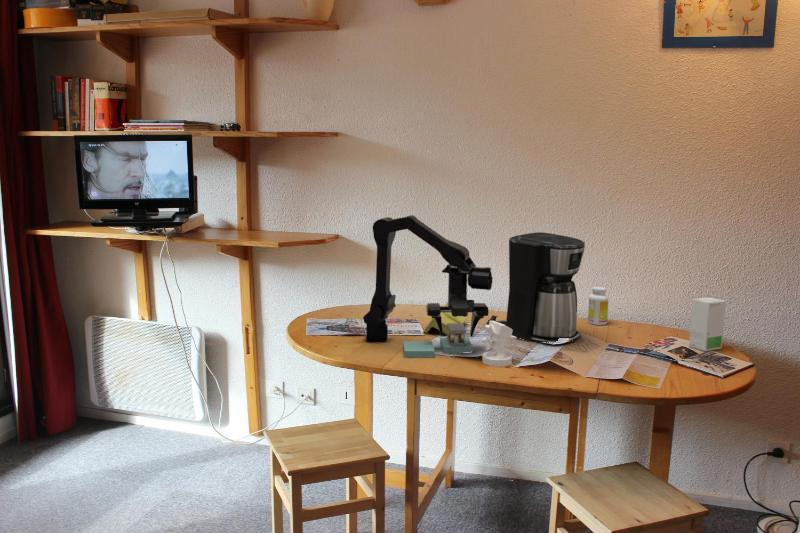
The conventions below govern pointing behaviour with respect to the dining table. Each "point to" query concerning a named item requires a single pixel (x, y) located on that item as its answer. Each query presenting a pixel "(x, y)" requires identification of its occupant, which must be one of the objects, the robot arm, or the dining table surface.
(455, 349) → the stand right
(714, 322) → the skincare box
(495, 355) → the character figurine
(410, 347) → the stand left
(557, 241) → the coffee maker
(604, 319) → the supplement bottle
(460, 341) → the housing
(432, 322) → the plastic component
